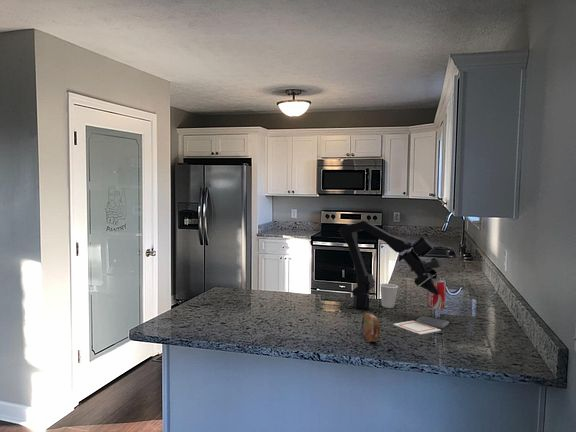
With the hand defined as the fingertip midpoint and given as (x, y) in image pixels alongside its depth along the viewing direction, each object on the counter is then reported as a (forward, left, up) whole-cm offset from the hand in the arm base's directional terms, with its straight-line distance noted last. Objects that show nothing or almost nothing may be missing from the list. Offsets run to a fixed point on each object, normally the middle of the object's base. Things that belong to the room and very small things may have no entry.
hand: (439, 293), depth 189 cm
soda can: (-1, +1, -7) cm, 7 cm away
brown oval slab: (-40, -14, -13) cm, 44 cm away
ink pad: (-4, -1, -12) cm, 13 cm away
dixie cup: (-7, +27, -12) cm, 31 cm away
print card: (-14, -6, -12) cm, 20 cm away
